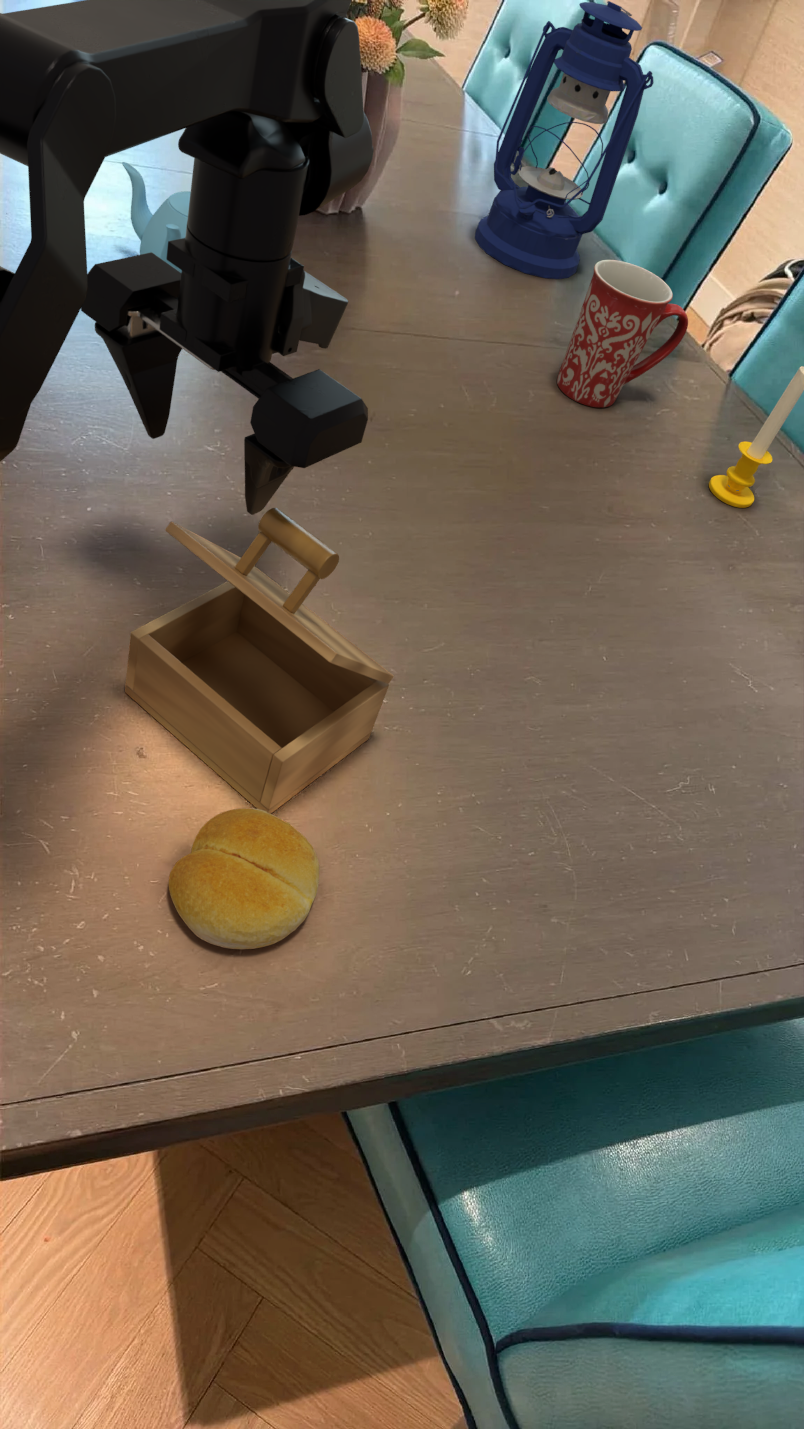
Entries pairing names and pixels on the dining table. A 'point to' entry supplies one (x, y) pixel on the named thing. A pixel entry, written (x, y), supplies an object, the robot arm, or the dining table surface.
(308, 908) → the bread roll
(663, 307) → the mug
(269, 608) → the box door
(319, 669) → the storage box
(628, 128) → the lantern
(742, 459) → the candle
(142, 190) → the teapot
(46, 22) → the robot arm
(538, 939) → the dining table surface
